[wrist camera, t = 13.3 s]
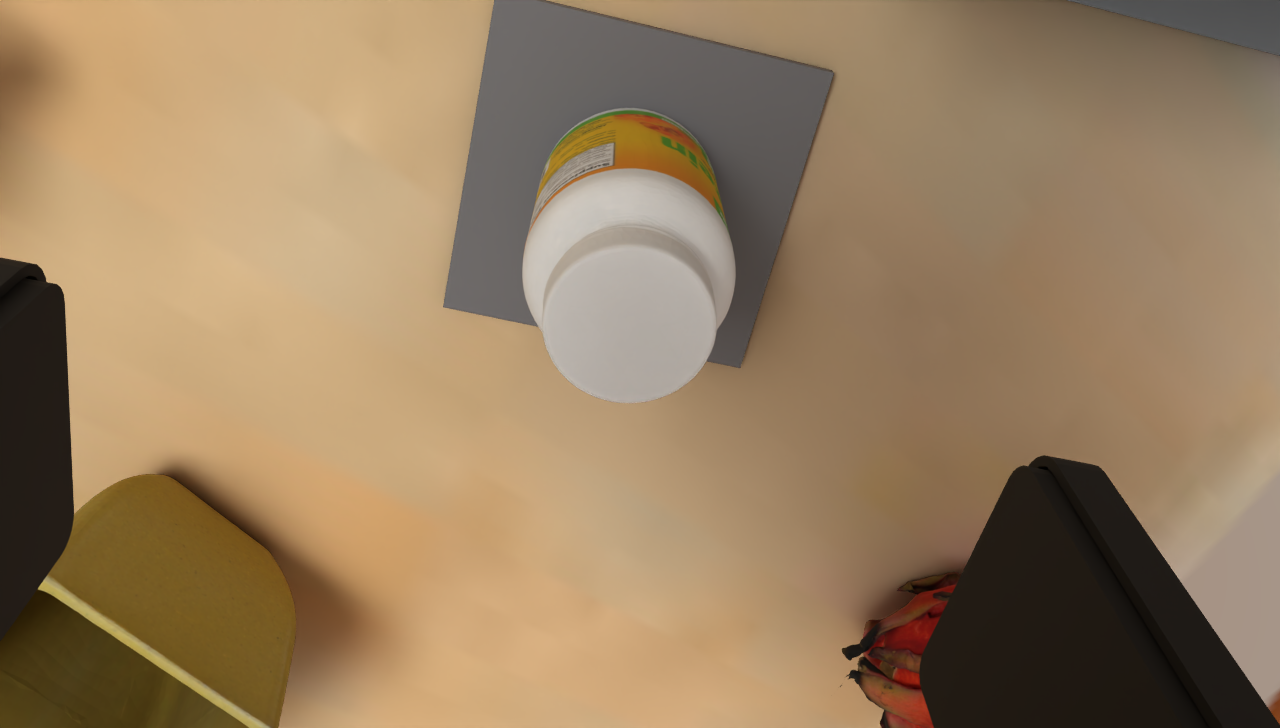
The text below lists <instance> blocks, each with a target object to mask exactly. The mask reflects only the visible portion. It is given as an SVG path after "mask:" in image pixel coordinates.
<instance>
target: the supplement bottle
mask: <svg viewBox="0 0 1280 728" xmlns="http://www.w3.org/2000/svg"><path fill="white" fill-rule="evenodd" d="M522 278H523V288H524V293H525V298H526V301H527V304H528V307H529V309H530V312H531V314H532V316H533V318H534V320H535V322H536V323H537V325H538V327H539V328H540V330H541V331H542V332H543V338H544V342H545V346H546V348H547V351H548V353H549V355H550V357H551V359H552V361H553V363H554V364H555V366H556V367H557V369H558V370H559V371H560V372H561V374H562V375H563V376H564V377H565V378H566V379H567V380H568V381H569V382H570V383H572V384H573V385H574V386H576V387H577V388H578V389H580V390H582V391H584V392H586V393H588V394H590V395H591V396H594V397H597V398H599V399H603V400H606V401H610V402H617V403H640V402H647V401H652V400H656V399H659V398H662V397H664V396H666V395H669V394H671V393H673V392H675V391H677V390H678V389H680V388H681V387H683V386H684V385H686V384H687V383H688V382H689V381H690V380H692V379H693V378H694V377H695V376H696V374H697V373H698V372H699V371H700V370H701V369H702V367H703V366H704V364H705V363H706V361H707V359H708V357H709V355H710V353H711V351H712V348H713V346H714V342H715V338H716V332H717V329H718V328H719V326H720V325H721V323H722V322H723V320H724V318H725V317H726V314H727V312H728V310H729V307H730V304H731V301H732V297H733V293H734V287H735V278H736V267H735V258H734V252H733V246H732V242H731V238H730V235H729V231H728V227H727V223H726V219H725V215H724V211H723V207H722V203H721V199H720V195H719V191H718V187H717V182H716V178H715V174H714V171H713V168H712V166H711V163H710V160H709V158H708V156H707V154H706V152H705V151H704V149H703V147H702V146H701V145H700V143H699V142H698V140H697V139H696V138H695V137H694V136H693V135H692V134H691V133H690V132H689V131H688V130H687V129H686V128H684V127H683V126H682V125H681V124H679V123H678V122H676V121H674V120H673V119H671V118H669V117H667V116H665V115H662V114H660V113H657V112H654V111H650V110H646V109H639V108H618V109H612V110H608V111H604V112H601V113H598V114H595V115H593V116H591V117H589V118H587V119H585V120H583V121H581V122H579V123H578V124H577V125H575V126H574V127H573V128H571V129H570V130H569V131H568V132H567V133H566V134H565V135H564V136H563V137H562V138H561V139H560V140H559V142H558V143H557V144H556V146H555V147H554V149H553V150H552V152H551V154H550V156H549V158H548V160H547V162H546V165H545V167H544V170H543V173H542V176H541V180H540V183H539V188H538V193H537V197H536V201H535V206H534V211H533V215H532V218H531V223H530V228H529V232H528V236H527V240H526V244H525V249H524V255H523V268H522Z"/></svg>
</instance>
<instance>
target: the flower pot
mask: <svg viewBox="0 0 1280 728" xmlns="http://www.w3.org/2000/svg"><path fill="white" fill-rule="evenodd" d="M295 635H296V614H295V607H294V602H293V598H292V594H291V591H290V588H289V586H288V583H287V581H286V579H285V577H284V575H283V573H282V571H281V569H280V568H279V566H278V564H277V563H276V561H275V560H274V558H273V556H272V555H271V553H270V552H269V551H268V550H267V549H266V548H264V547H263V546H262V545H260V544H259V543H258V542H256V541H255V540H254V539H252V538H251V537H250V536H248V535H247V534H246V533H245V532H243V531H242V530H241V529H239V528H238V527H237V526H235V525H234V524H233V523H231V522H230V521H229V520H227V519H226V518H224V517H223V516H222V515H220V514H219V513H218V512H216V511H215V510H214V509H212V508H211V507H210V506H209V505H207V504H206V503H205V502H204V501H202V500H201V499H200V498H198V497H197V496H196V495H195V494H193V493H192V492H191V491H189V490H188V489H187V488H185V487H184V486H183V485H181V484H180V483H179V482H177V481H176V480H174V479H172V478H171V477H168V476H166V475H155V474H145V475H138V476H133V477H130V478H127V479H124V480H121V481H119V482H117V483H115V484H113V485H111V486H110V487H108V488H106V489H105V490H103V491H102V492H100V493H99V494H97V495H96V496H95V497H93V498H92V499H91V500H90V501H88V502H87V503H86V504H85V505H84V506H83V507H82V508H80V509H79V510H78V511H77V512H76V513H75V514H74V521H73V527H72V531H71V535H70V538H69V541H68V543H67V546H66V548H65V550H64V551H63V553H62V555H61V556H60V558H59V559H58V561H57V562H56V564H55V565H54V566H53V568H52V569H51V571H50V572H49V573H48V575H47V576H46V578H45V579H44V580H43V582H42V583H41V585H40V586H39V588H38V589H37V590H36V592H35V593H34V595H33V596H32V597H31V599H30V600H29V602H28V603H27V605H26V606H25V607H24V609H23V610H22V612H21V613H20V614H19V616H18V617H17V619H16V620H15V622H14V623H13V624H12V626H11V627H10V629H9V630H8V631H7V633H6V634H5V636H4V637H3V639H2V640H1V641H0V728H278V726H279V721H280V716H281V712H282V706H283V702H284V696H285V691H286V686H287V681H288V676H289V670H290V665H291V660H292V654H293V648H294V643H295Z"/></svg>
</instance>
